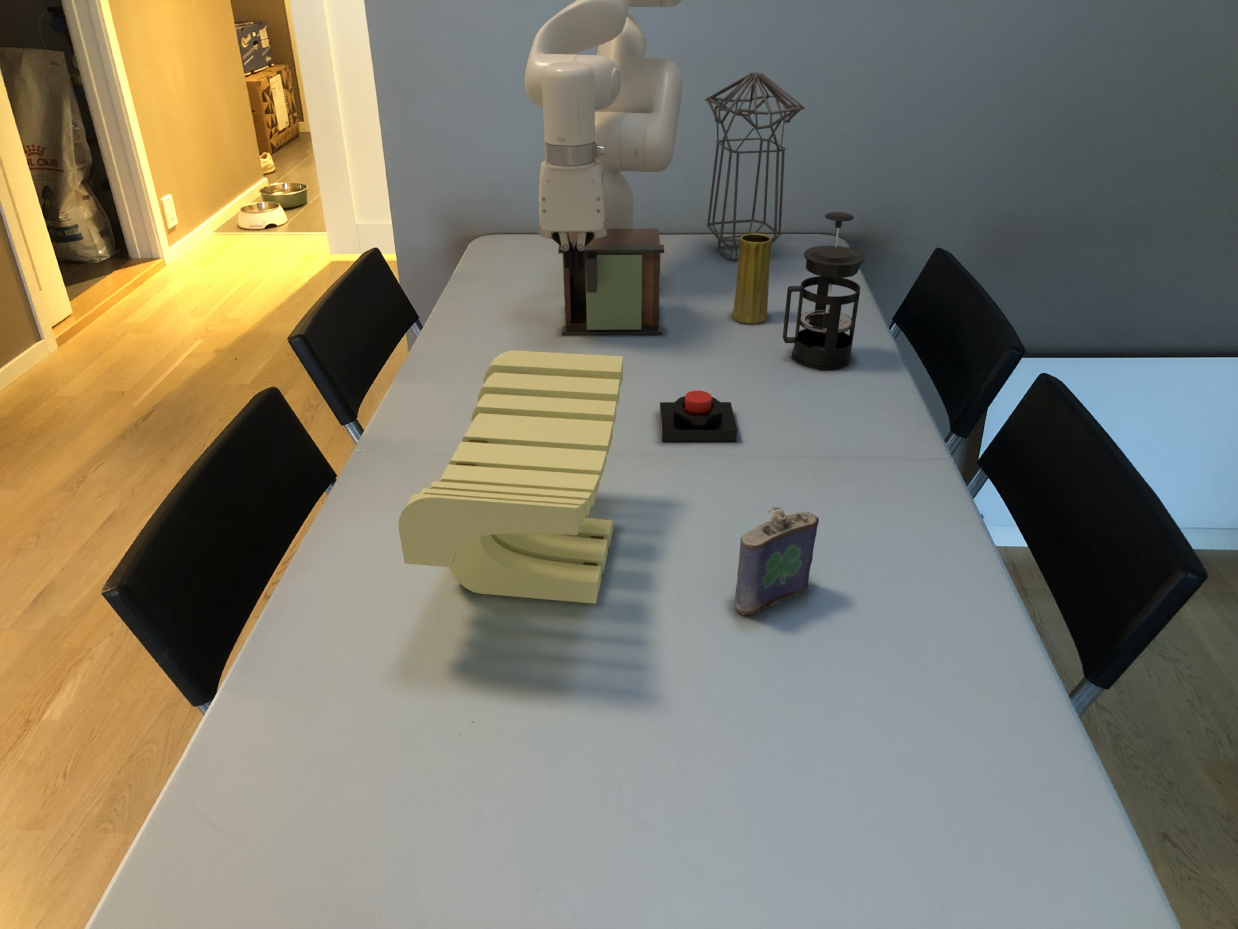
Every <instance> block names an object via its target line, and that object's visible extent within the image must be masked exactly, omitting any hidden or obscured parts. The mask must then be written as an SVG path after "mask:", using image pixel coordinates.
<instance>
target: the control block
mask: <svg viewBox="0 0 1238 929" xmlns="http://www.w3.org/2000/svg"><path fill="white" fill-rule="evenodd" d="M659 423H660V436H661V443H737V440H738V439H737V437H738V427H737V423H736V419H735V414H734V410H733V405H732V402H731V401H720V400H718V398H716V397H714V396H712V402H711V410H710V411H708V412H704V413H694V412H690V411H687V410H686V409H685V395H684V396H680V397H678V398H677V399H676V400H675V401H661V402H659Z"/></svg>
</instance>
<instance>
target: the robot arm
mask: <svg viewBox="0 0 1238 929" xmlns="http://www.w3.org/2000/svg"><path fill="white" fill-rule="evenodd" d="M681 1H682V0H575V1H574V2H572V3H571V4H568V5H567V6H566V7H565V8H563V9H562V10H559V12H558V13H556V14H555V15H554V16H552V17H551V18H550V19H549V20H547V21H546V22H545V23H544V24H543V25H542V26H541V27H540V28H539V30H538V31H537V33H536V35H535V36H534V39H533V42H532V45H531V47H530V52H529V55H528V58H527V62H526V67H525V72H524V88H525V93H526V95H527V97H528V99H529V100H530V102H532V103H533V104H534V105H535V106H538V107H540V108H542V110H543V111H542V112H543V114H542V115H543V133H544V155H545V160H543V161H541V164H540V171H539V185H538V216H539V218H538V219H539V230H538V236H539V237H542V238H545V239H550V240H551V239H552V240H553V241H554V242H555V243H556V244H557V245H558V246H559V245H560V246H561V247H562V249H563V250H564V264H565V268H569V275H573V274H574V275H579V271H580V268H584V256H583V250H584V248H585V247H586V246H587V245H588V244H589V243H590V242H591V241H592V240H593V239H597V238H601V237H605V236H606V235H607V229H634V207H635V206H634V202H635V201H634V192H633V190H632V188H631V186H630V183H629V181H628V180H627V179H626V178H625V176H624V175H623V173H622V172H638V173H659V172H664V171H666V169H668V168H669V166H670V165H671V163H672V161H673V156H674V153H675V146H676V139H677V131H678V126H679V118H680V110H681V104H682V94H683V82H682V81H683V80H682V74H681V70H680V69H679V68H680V67H679V66H678V65H677V64H676V63H675V62H674V61H673V60H670V59H668V58H663V57H662V58H660V57H646V50H647V44H648V42H647V38H646V34H645V33H644V31H643V29H642V28H641V26H640V25H639V24H638V22H637V21H636V20H635V19H634V18H633V16H632V15H631V14H630V13H629V9H630V8H675V7H677V6H678V5H679V4H680V3H681ZM594 48H597V52H596V54H578V53H580V52H583V51H587V50H591V49H594ZM568 231H579V232H578V241H577V242H576V244H575V247H572V243H571V242H570V237H569V232H568Z"/></svg>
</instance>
